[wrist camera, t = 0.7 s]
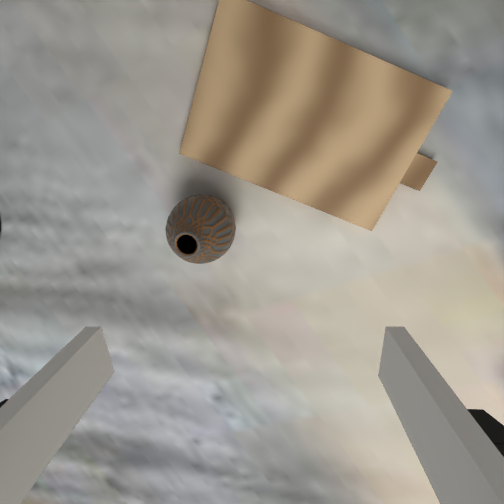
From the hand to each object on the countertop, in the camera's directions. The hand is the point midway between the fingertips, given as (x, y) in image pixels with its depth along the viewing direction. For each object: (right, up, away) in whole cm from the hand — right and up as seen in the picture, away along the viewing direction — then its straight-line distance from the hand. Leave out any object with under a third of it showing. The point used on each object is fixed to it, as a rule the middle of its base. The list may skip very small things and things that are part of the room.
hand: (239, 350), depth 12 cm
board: (+7, +17, +14) cm, 23 cm away
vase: (-4, +8, +19) cm, 21 cm away
